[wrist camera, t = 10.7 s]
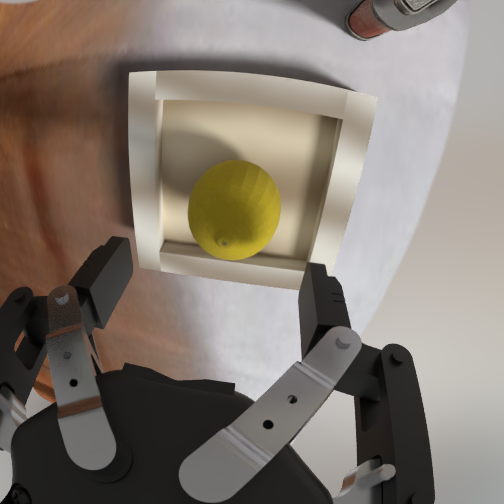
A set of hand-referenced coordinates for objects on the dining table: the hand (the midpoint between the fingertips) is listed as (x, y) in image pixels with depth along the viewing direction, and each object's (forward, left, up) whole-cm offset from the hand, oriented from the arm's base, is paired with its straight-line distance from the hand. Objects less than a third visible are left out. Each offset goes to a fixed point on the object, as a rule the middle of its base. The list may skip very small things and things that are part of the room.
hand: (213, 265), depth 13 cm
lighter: (-16, +9, -14) cm, 23 cm away
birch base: (0, 0, -14) cm, 14 cm away
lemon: (0, 0, -10) cm, 10 cm away
